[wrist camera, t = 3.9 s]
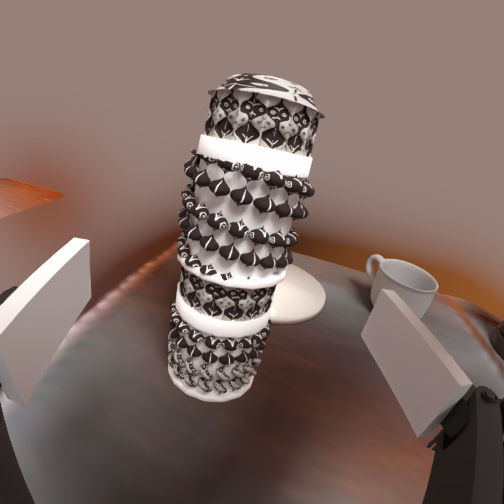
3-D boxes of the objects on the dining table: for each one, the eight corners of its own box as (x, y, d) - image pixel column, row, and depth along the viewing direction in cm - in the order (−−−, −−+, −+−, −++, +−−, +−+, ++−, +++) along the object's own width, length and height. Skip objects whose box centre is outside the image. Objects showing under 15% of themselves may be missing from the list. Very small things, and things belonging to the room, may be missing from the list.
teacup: (429, 329, 42) (450, 288, 39) (389, 337, 38) (413, 289, 35) (382, 288, 54) (397, 251, 51) (341, 289, 50) (356, 247, 47)
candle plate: (346, 319, 41) (349, 312, 40) (218, 327, 33) (220, 319, 33) (290, 261, 57) (291, 255, 56) (191, 256, 49) (192, 250, 49)
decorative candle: (151, 392, 22) (190, 54, 13) (175, 331, 31) (214, 83, 22) (256, 413, 23) (355, 90, 14) (257, 348, 31) (321, 106, 22)
